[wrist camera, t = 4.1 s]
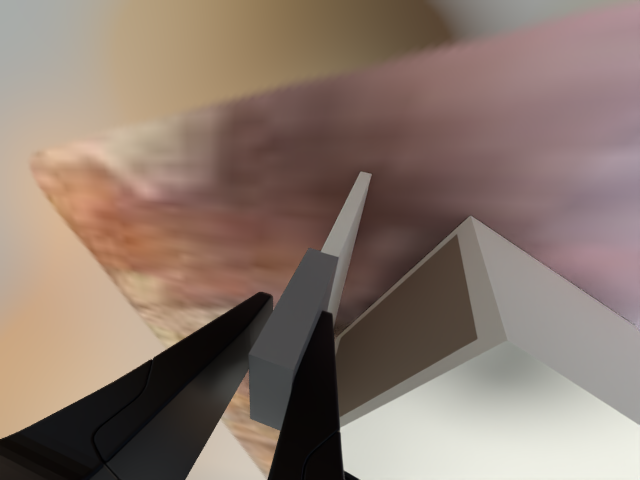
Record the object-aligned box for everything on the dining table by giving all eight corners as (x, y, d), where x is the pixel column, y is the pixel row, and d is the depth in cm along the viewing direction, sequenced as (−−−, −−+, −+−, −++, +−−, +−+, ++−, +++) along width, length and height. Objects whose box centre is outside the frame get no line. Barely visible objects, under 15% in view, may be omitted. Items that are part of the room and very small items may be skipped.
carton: (446, 405, 24) (456, 536, 18) (336, 337, 23) (303, 446, 17) (634, 325, 16) (784, 518, 9) (470, 215, 15) (507, 339, 8)
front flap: (331, 337, 23) (272, 527, 14) (319, 333, 23) (252, 518, 14) (371, 174, 15) (293, 370, 6) (353, 169, 15) (248, 353, 6)
